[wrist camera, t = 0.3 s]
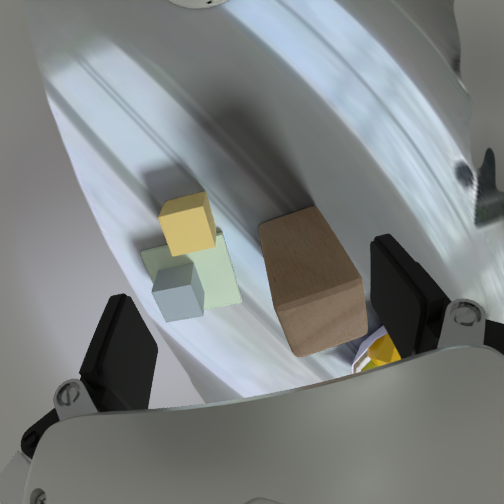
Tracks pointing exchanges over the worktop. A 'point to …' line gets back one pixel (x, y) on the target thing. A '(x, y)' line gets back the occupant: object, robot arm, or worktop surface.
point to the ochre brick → (188, 224)
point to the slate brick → (179, 293)
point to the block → (312, 282)
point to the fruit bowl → (375, 352)
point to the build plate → (201, 270)
